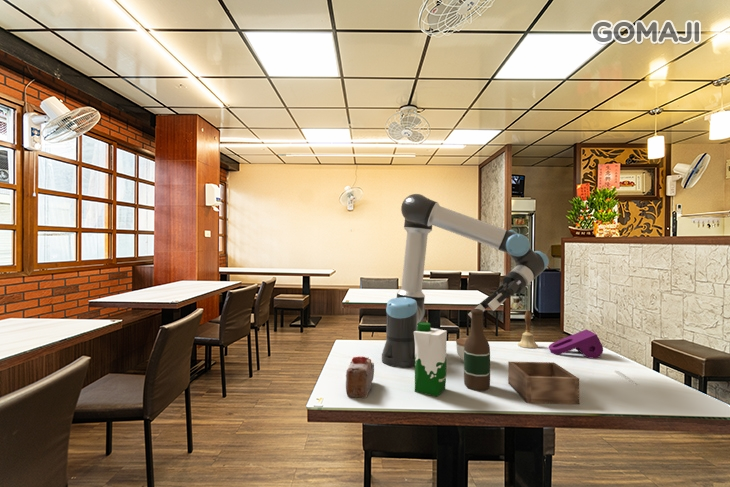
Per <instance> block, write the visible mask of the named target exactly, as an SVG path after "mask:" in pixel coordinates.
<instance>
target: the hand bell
mask: <svg viewBox="0 0 730 487" xmlns="http://www.w3.org/2000/svg"><path fill="white" fill-rule="evenodd" d="M524 321H525V331H524V332H523V333H522V334H521V335H522V336H521V339H520V342H518V344H517V346H518V347H520V348H525V349H526V348H527V349H537V348H539V345H538V344H537V342H536V341H535V337H534V334H533V333H531V326H530V325H531V322H532V314H531V311H530V309H526V311H525V314H524Z"/></svg>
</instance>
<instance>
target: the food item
mask: <svg viewBox="0 0 730 487" xmlns="http://www.w3.org/2000/svg"><path fill="white" fill-rule="evenodd" d="M374 376H375V363H374V362H372V359H371V358H369V357H366V356H361V355H360V356H353V357H352V359H351V360H350V363H349V365H348V368H347V369H346V372H345V377H346V378H345V392H346V395H347V397H349V398H361V399H365V398H367V396H368V394H369V391H371V389H372V388H371V387H372V384H373V381H374Z"/></svg>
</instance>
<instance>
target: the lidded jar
mask: <svg viewBox="0 0 730 487" xmlns="http://www.w3.org/2000/svg"><path fill="white" fill-rule="evenodd" d="M467 338H468V337H461V338H457V339H456V340H455V343H456V345H455V347H456V353H457V355H458V357H459V358H460V359H461V361H462V362H463V363H464V345H465V342H466V339H467Z"/></svg>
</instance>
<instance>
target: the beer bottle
mask: <svg viewBox="0 0 730 487" xmlns="http://www.w3.org/2000/svg"><path fill="white" fill-rule="evenodd" d="M470 312H471V313H472V319H471V318H470V320H471V321H470V322H471V323H470V333H469V335H468V336H467V337H466V338H467V339H466V342H465V345H464V362H463V383H464V386H465V387H466V388H467V389H469V390H473V391H475V392H476V391H477V392H485V391H487V390H489V389H490V387H491V348H490V347H491V346H490V343H489V341H488V339H487V338H486V336H485V333H484V318H483V314H484V312H483V310H481V309H475V308H472V309H471V310H470Z"/></svg>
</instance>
